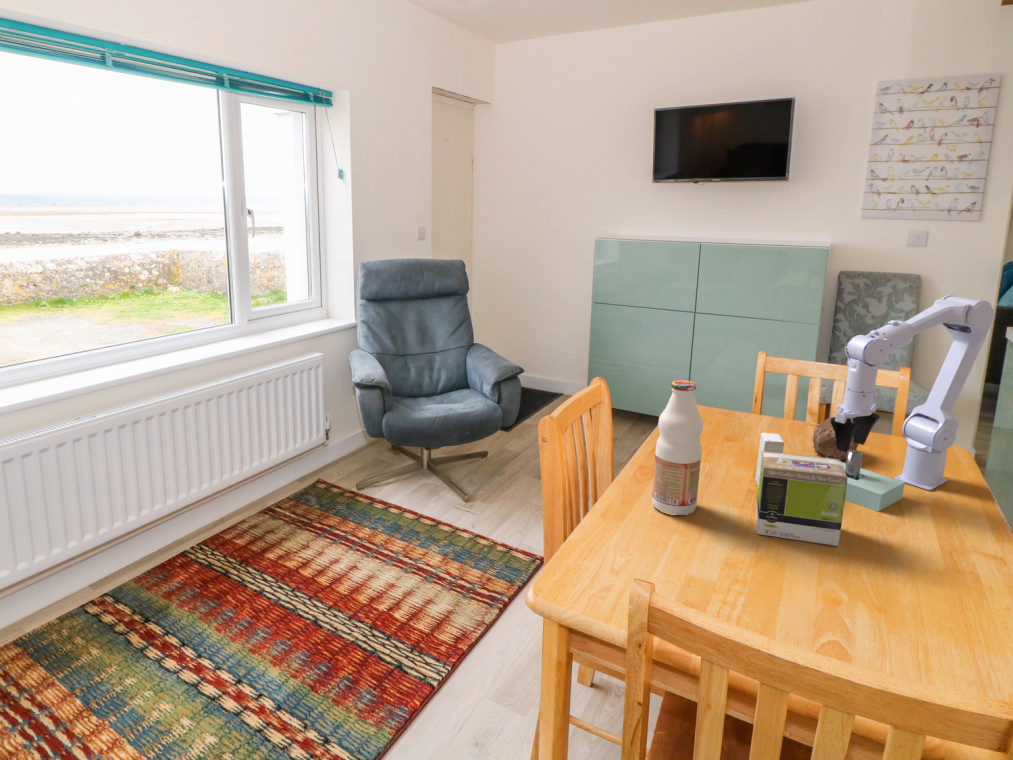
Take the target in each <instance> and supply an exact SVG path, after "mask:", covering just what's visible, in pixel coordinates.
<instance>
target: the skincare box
mask: <svg viewBox="0 0 1013 760" xmlns="http://www.w3.org/2000/svg"><path fill="white" fill-rule="evenodd" d="M759 439H760V440H759V448H758V455H757V463H756V469H755V470H756V471H755V476H754V477H755V482H756V484H757V487H758V488H759V479H760V469H761V459H762V452H763V451H766V452H775V453H784V445H785V442H784V440H783V439H782V437H781V435H780V433H771V432H770V433H769V432H761V433H760V438H759Z"/></svg>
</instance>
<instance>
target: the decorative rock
mask: <svg viewBox="0 0 1013 760" xmlns="http://www.w3.org/2000/svg"><path fill="white" fill-rule="evenodd" d="M833 417H834V416H830V417H828V418H826V419H824V420H822V421H820V423H818V424H816V425H814V426H813V436H812V443H813V450H814V453H817V454H819V455H822V457H823V458H832V459H839V460H841V461H842V460H847V453H848V451H847V452H844V451H841V450H838V449H837V445H836V437H835V432H834V429H833V427H832V425H831V423H830V421H831V418H833ZM858 448H859V444H858V443H854V440H853V437H852V440H851V443H850V447H849V449H848V450H858Z"/></svg>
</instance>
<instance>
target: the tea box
mask: <svg viewBox="0 0 1013 760" xmlns="http://www.w3.org/2000/svg"><path fill="white" fill-rule="evenodd" d="M841 462H842V460H839V459H832V458H826V457H823V456H822V457H821V456H819V457H818V456H811V455H810V456H809V455H802V454H794V453H793V454H791V453H784V452H783V453H775V452H766V451H763V452H762V459H761V469H760V479H759V487H758V489H757V498H756V499H757V500H756V532H757V535H761V536H762V535H763V536H767V537H773V538H774V537H775V538H776V537H777V538H783V539H787V540H788V539H789V540H794V541H795V540H796V541H802V542H809V543H814V544H822V545H827V546H832V547H833V546H834V547H839V545H840V539H841V538H840V537H841V531H842V523H843V517H844V516H843V515H844V509H845V502H846V500H845V495H846V488H847V478H848V477H847V476H846V473H845V471H844V468H843V466H842V463H843V462H842V463H841Z"/></svg>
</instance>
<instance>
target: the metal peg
mask: <svg viewBox="0 0 1013 760" xmlns="http://www.w3.org/2000/svg"><path fill="white" fill-rule="evenodd" d="M862 460H863V452H862V451H860V450H858V449H856V450H848V453H847V459H846V461H845V463H846V468H845V473H846V476H847V477H848V478H851V479H854V480H859V476H860V468H861V467H862ZM861 469H862V468H861Z"/></svg>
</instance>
